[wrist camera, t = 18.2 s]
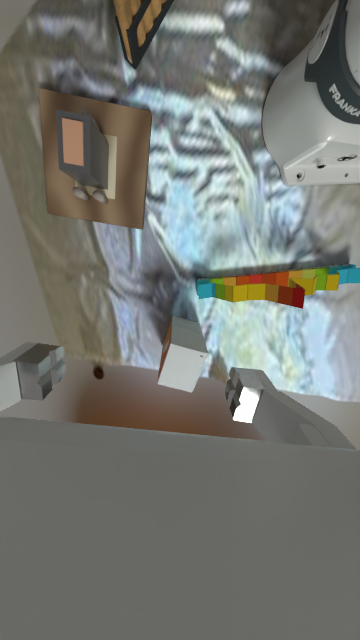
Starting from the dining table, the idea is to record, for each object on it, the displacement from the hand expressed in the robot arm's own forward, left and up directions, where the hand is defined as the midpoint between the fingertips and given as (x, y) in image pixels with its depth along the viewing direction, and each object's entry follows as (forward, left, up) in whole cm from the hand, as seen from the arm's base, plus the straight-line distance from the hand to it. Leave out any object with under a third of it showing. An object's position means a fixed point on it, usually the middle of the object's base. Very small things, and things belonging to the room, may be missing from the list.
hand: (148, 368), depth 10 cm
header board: (+14, -16, -31) cm, 38 cm away
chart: (-20, -3, -32) cm, 38 cm away
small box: (-4, +12, -31) cm, 34 cm away
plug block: (+14, -16, -30) cm, 36 cm away
